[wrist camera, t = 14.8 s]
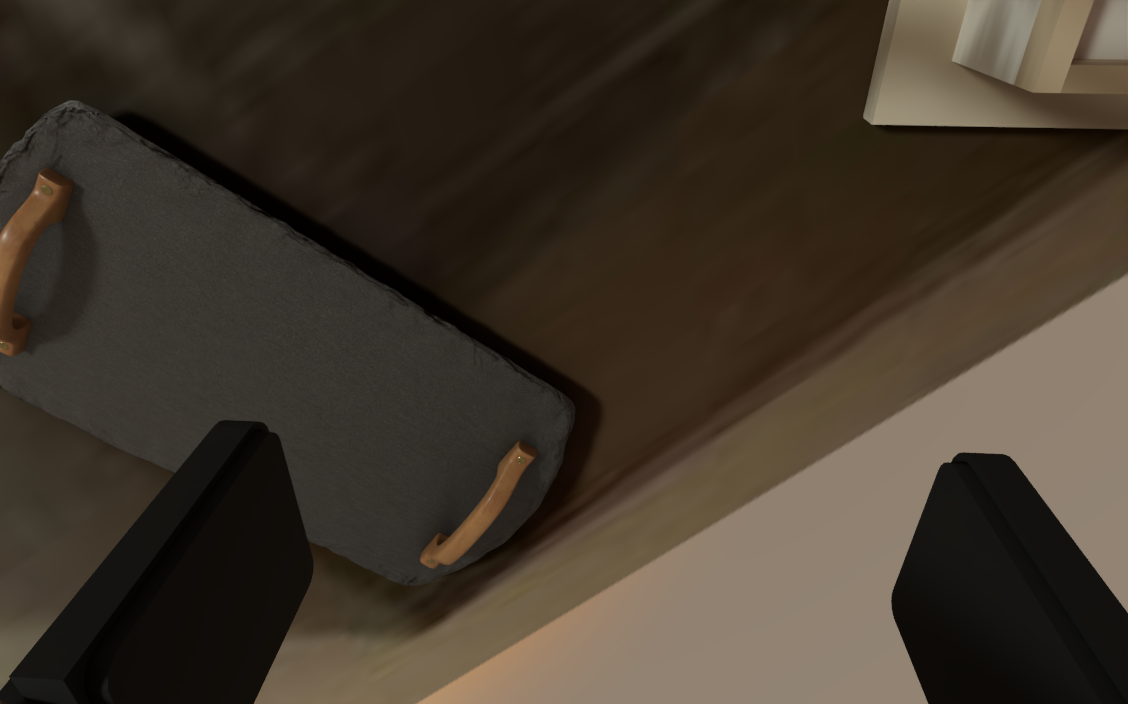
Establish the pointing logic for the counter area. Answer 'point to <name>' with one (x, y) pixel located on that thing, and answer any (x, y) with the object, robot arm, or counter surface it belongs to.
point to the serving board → (259, 351)
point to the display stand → (1002, 64)
